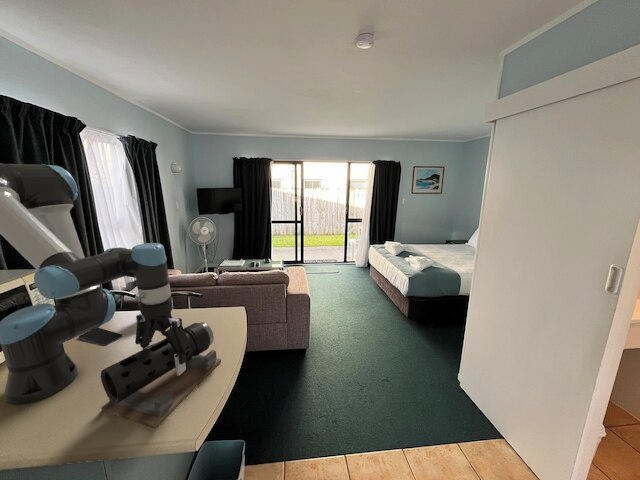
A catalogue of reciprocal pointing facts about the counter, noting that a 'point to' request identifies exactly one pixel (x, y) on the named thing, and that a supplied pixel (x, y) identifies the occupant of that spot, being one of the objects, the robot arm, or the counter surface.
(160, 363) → the muzzle brake
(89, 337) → the smartphone
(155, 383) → the mounting board
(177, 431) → the counter surface
